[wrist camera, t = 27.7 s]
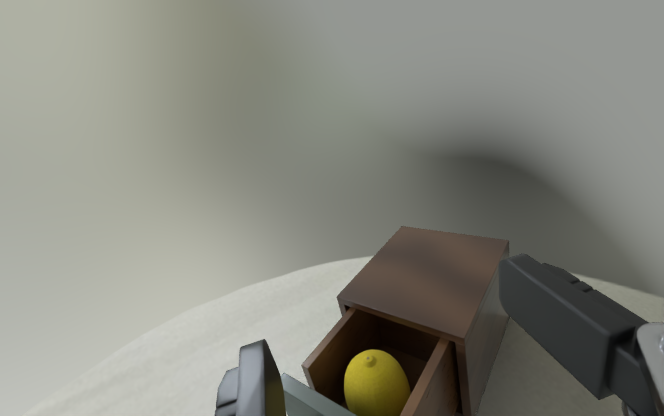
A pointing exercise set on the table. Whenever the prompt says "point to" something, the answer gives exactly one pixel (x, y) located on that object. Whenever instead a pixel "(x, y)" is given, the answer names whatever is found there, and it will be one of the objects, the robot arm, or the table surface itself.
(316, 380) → the drawer
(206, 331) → the table surface
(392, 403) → the lemon
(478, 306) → the cabinet
